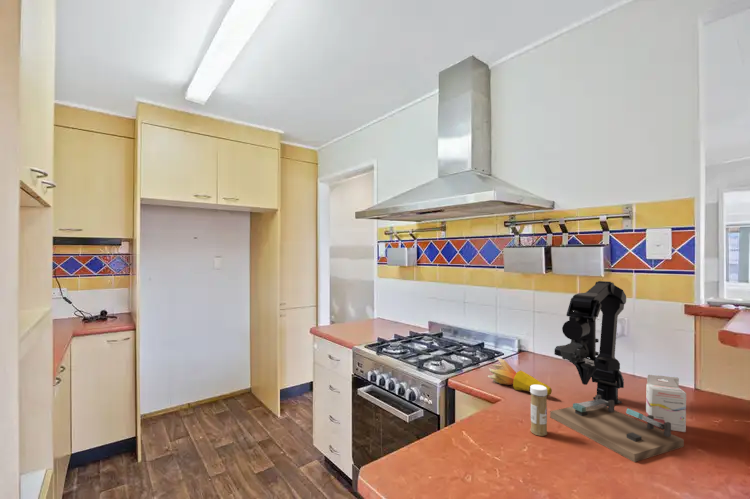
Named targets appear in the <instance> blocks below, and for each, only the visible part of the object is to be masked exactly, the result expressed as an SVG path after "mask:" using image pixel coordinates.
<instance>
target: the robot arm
mask: <svg viewBox="0 0 750 499" xmlns="http://www.w3.org/2000/svg"><path fill="white" fill-rule="evenodd" d="M626 303H627V296H626V293H625V291H624V290H623V289H622V288H620V287H618V286H616V284H615V283H614V282H612V281H605V280H597V281H596V282H595V284H594V285H593V286H592V287H590V289H589V288H588V290H587V291H586V292H579V293H576V294H573V296H572V297H571V299H570V302H569V303H568V304H569V305H568V308H567V312H566V317H568V319H569V320H567V321H565V322H564V323H563V325H562V330H561V331H562V333H563V335H564V337H566V338H567V339H568V340H570V342H569V343H567V344H564V345H563V344H562V345H556V346H555V348H554V354H553V355H555V356H558V357H561V359H563V360H566V361H569V362H570V363H572V365H573V366H575V368H576V370H577V373H578V376H579V379H580V381H581V383H582V385H584V386H587V385H588V383H589V382H590V380H591V382H592V383H597V384H596V395H601V399H603V400H605V401H608V400H614V406H615V405H621V404H623V401H622V400H619V389H624V388H625V384H624V383H625V381H624V380H625V379H624V377H623V373H622V372H621V370H620V369H621V364H620V360H618V359H616V357H615V356H616V343H617V342H616V341H617V330H618V329H617V328H618V318H619V315H620V314H621V313H622V312H623V310H624V307H625V305H626ZM600 311H601V313H602V314H601V316H602V317H601V328H600V342H599V338H597V337H596V335H597V334H596V333H597V332H596V328H597V327H596V326H597V325H596V322H597V321H596V320H597V318H599V315H600ZM596 343H599V352H598V351H596V345H597V344H596ZM592 400H595V396H593V397H592Z"/></svg>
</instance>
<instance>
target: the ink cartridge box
mask: <svg viewBox="0 0 750 499" xmlns="http://www.w3.org/2000/svg"><path fill="white" fill-rule="evenodd" d="M646 377H647V380H646V385H645V386H646V390H645V391H646V393H645V395H646V398H645V399H646V402H645V416H646V417H647V416H649V415H652V416H654V420H655V421H657V422H660V423H662V424H664V423H666V422H669V423H671V431H673V432H674V431H676V432H682V433H686V432H687V427H686V426H687V424H686V423H687V392H685V391H684V390H683V389H681V388H680V387H679V384H680V383H679V382H680V378H679V377H675V376H668V375H667V376H666V375H657V374H647V376H646ZM661 380H662V381H661ZM663 380H665V381H663ZM654 427H656V426H654ZM656 428H658V429H660V428H659V427H656Z"/></svg>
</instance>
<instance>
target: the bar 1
mask: <svg viewBox="0 0 750 499" xmlns="http://www.w3.org/2000/svg"><path fill="white" fill-rule="evenodd" d="M572 406H573V408H574V409H576V410H578V411H580V412H586V411H589V410H594V409H598V408H603V407H608V401H605V400H603V399H597V400H595V399H592V400H588V401H583V402H574V403H572Z"/></svg>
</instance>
